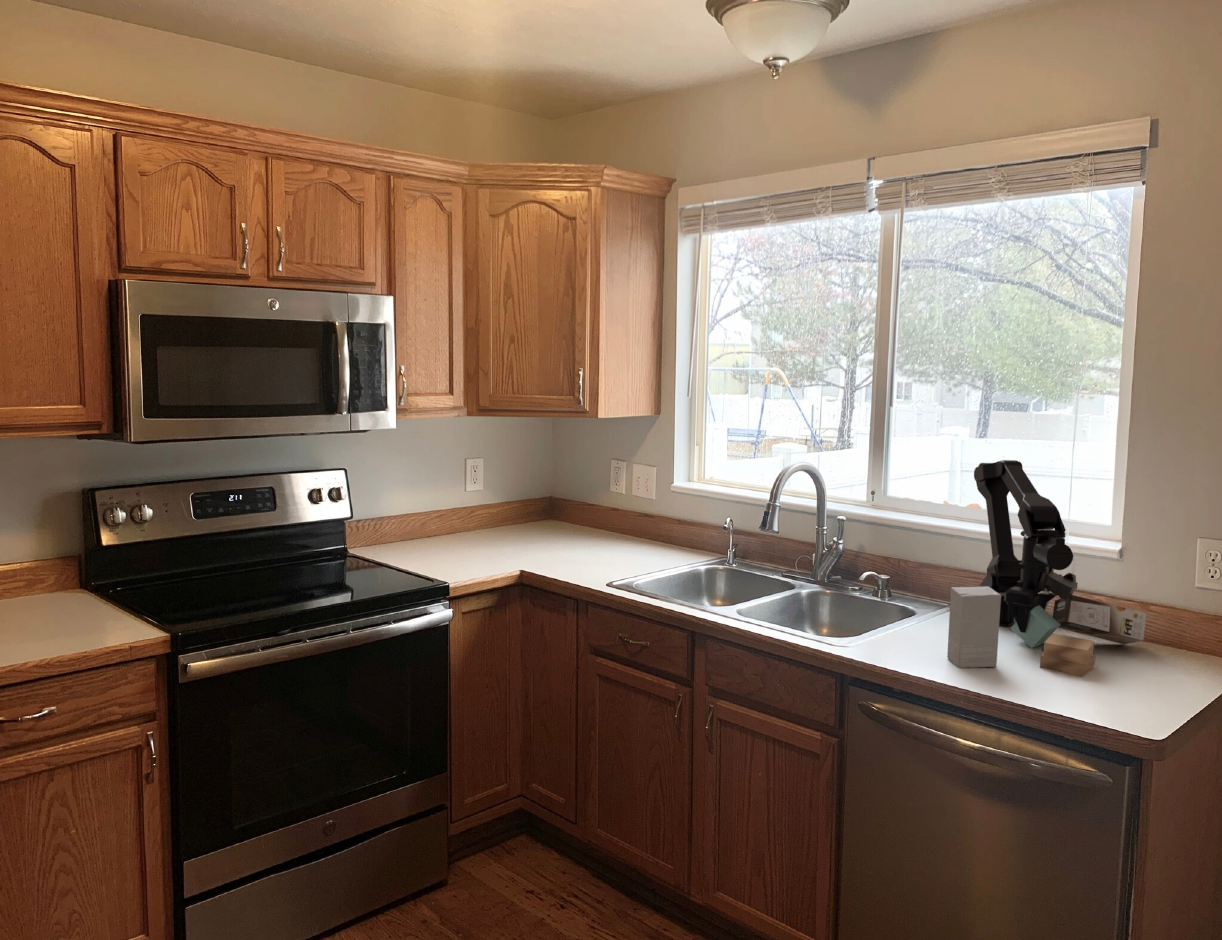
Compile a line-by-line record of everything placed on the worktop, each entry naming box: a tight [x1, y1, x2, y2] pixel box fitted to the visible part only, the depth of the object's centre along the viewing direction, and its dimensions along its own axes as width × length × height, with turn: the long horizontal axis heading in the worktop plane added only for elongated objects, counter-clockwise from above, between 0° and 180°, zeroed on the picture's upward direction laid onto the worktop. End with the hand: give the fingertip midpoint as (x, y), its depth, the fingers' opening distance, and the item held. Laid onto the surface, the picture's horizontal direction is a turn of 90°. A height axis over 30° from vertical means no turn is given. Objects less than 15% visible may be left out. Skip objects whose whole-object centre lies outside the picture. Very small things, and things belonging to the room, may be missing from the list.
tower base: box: [1039, 654, 1096, 678], centre depth 193 cm, size 8×8×3 cm
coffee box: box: [1052, 594, 1147, 645], centre depth 208 cm, size 9×6×16 cm
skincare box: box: [946, 586, 1001, 669], centre depth 194 cm, size 8×7×16 cm
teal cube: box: [1010, 605, 1061, 649], centre depth 209 cm, size 6×6×6 cm
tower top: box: [1042, 632, 1095, 665], centre depth 193 cm, size 8×8×3 cm
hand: (1030, 628), depth 211 cm, fingers open, 9 cm apart
